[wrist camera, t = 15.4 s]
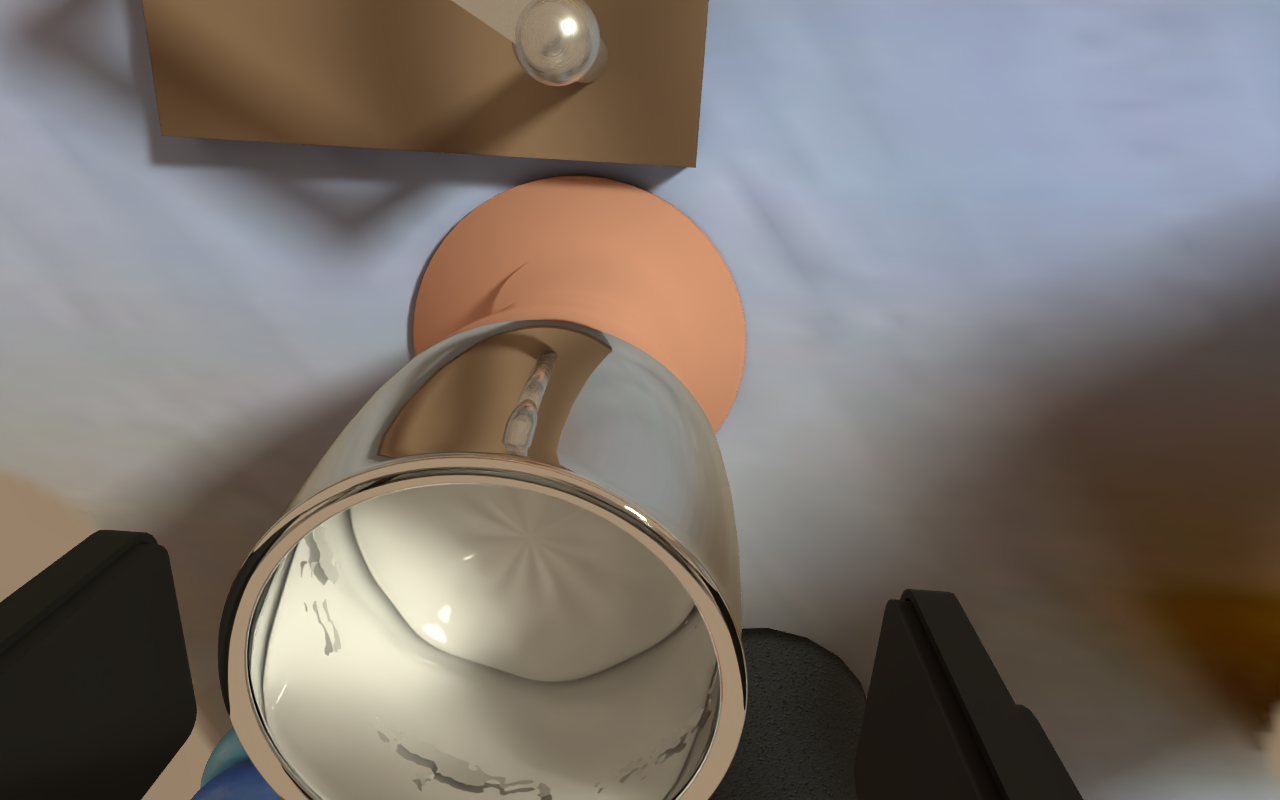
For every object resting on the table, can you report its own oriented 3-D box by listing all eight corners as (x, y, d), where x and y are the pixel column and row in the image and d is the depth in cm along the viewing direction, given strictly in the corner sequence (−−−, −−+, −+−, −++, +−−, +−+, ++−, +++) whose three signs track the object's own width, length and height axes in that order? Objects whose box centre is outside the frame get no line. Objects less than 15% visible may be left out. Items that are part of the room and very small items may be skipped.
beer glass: (526, 482, 25) (366, 951, 11) (429, 282, 23) (80, 557, 9) (732, 410, 24) (835, 827, 10) (651, 194, 22) (643, 350, 8)
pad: (762, 186, 22) (763, 187, 22) (728, 501, 26) (729, 505, 26) (408, 165, 22) (405, 165, 22) (422, 483, 26) (420, 487, 26)
